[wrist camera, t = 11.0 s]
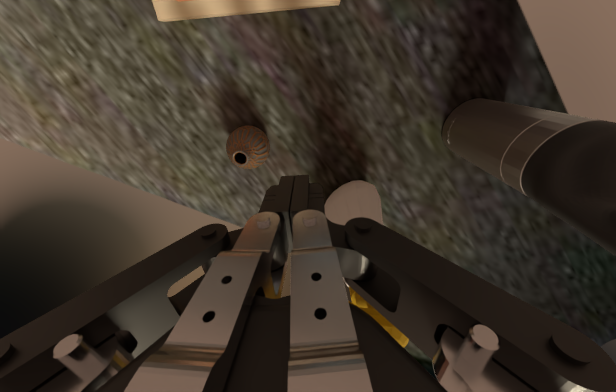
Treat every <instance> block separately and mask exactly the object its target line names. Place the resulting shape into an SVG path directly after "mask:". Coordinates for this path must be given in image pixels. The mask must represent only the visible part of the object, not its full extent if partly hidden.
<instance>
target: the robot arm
mask: <svg viewBox="0 0 616 392" xmlns="http://www.w3.org/2000/svg"><path fill="white" fill-rule="evenodd" d="M442 140H443V142H444V144H445V146H446V147H447V148H448V149H450V150H451V151H453V152H454V153H456V154H458V155H459V156H461V157H463V158H464V159H466V160H468V161H469V162H471V163H473V164H474V165H476V166H478V167H479V168H481V169H483V170H484V171H486V172H488V173H489V174H491V175H493V176H494V177H496V178H498V179H499V180H501V181H503V182H504V183H506V184H508V185H509V186H511V187H513V188H514V189H516V190H518V191H519V192H521V193H523V194H524V195H526V196H528V197H529V198H531V199H533V200H534V201H536V202H538V203H539V204H540V205H541V206H542V207H544V208H545V209H546V210H548V211H549V212H551V213H552V214H554V215H556V216H557V217H559V218H560V219H562V220H564V221H565V222H567V223H568V224H570V225H571V226H573V227H574V228H576V229H577V230H579V231H580V232H582V233H583V234H585V235H586V236H587V237H589V238H590V239H592V240H593V241H595V242H596V243H598V244H599V245H600V246H602V247H603V248H605V249H606V250H608V251H609V252H610V253H612V254H613V255H615V256H616V123H613V122H608V121H603V120H598V119H592V118H587V117H581V116H576V115H570V114H564V113H559V112H554V111H548V110H543V109H538V108H532V107H527V106H522V105H516V104H511V103H505V102H501V101H495V100H489V99H484V98H476V99H472V100H468V101H466V102H464V103H462V104H461V105H459V106H458V107H457V108H455V109H454V110H453V111H452V112H451V114H450V115H449V116H448V118H447V119H446V121H445V123H444V126H443V129H442ZM288 253H291V295H290V296H286V297H282V298H281V294H282V289H283V284H284V280H285V275H286V271H287V257H288ZM199 266H202V268H203V270H204V272H205V274H204V275H203V276H201V277H200V278H198V279H197V280H195V281H194V282H193V283H191V284H190V285H188V286H187V287H186V288H184V289H183V290H181V291H180V292H179V293H177V294H176V295H174V296H172V297H167V292H168V290H169V288H170V287H171V286H172V285H173V284H174V283H175V282H177V281H178V280H180V279H181V278H183V277H184V276H186V275H187V274H189V273H190V272H192V271H193V270H195V269H196V268H198V267H199ZM343 277H344V280H345V282H346V283H347V284H348V285H349V286H350V287H351V288H352V289H353V290H354V291H355V292H356V293H358V294H359V295H360V296H361V297H362V298H363V299H364V300H365V301H367V302H368V303H369V304H370V305H371V306H372V307H373V308H374V309H376V310H377V311H378V312H379V313H380V314H381V315H382V316H383V317H385V318H386V319H387V320H388V321H389V322H390V323H391V324H393V325H394V326H395V327H396V328H397V329H398V330H399V331H400V332H402V333H403V334H404V335H405V336H406V337H407V338H408V339H409V340H411V341H412V342H413V343H414V344H415V345H416V346H417V347H418V348H420V349H421V350H422V351H423V352H424V353H425V354H426V355H427V356H429V357H430V358H431V359H432V360H433V368H434V372H435V375H436V377H437V379H438V381H439V382H438V381H437V380H436V379H435V378H434V377H433V376H432V375H431V374H430V373H429V372H428V371H427V370H426V369H425V368H424V367H423V366H422V365H420V364H419V363H418V362H417V361H416V360H415V359H414V358H413V357H412V356H411V355H410V354H409V353H408V352H407V351H406V350H405V349H404V348H403V347H402V346H401V345H400V344H399V343H398V342H397V341H396V340H395V339H394V338H393V337H392V336H391V335H390V334H389V333H388V332H387V331H386V330H385V329H384V328H383V327H382V326H381V325H380V324H379V323H378V322H377V321H376V320H375V319H374V318H373V317H371V316H370V315H369V314H368V313H366V312H365V311H363V310H362V309H360V308H359V307H357V306H355V305H353V304H351V303H349V302H348V298H347V294H346V289H345V285H344V281H343ZM615 390H616V365H615V363H614V362H613V360H612V359H611V358H610V357H609V355H607V353H606V352H605V351H604V350H603V349H602V348H601V347H600V346H598V345H597V344H596V343H595V342H594V341H592V340H591V339H590V338H588V337H587V336H585V335H584V334H582V333H581V332H579V331H577V330H576V329H574V328H572V327H570V326H568V325H566V324H565V323H563V322H561V321H559V320H557V319H555V318H554V317H552V316H550V315H548V314H546V313H544V312H542V311H541V310H539V309H537V308H535V307H533V306H531V305H530V304H528V303H526V302H524V301H522V300H520V299H519V298H517V297H515V296H513V295H511V294H509V293H507V292H506V291H504V290H502V289H500V288H498V287H496V286H495V285H493V284H491V283H489V282H487V281H485V280H483V279H482V278H480V277H478V276H476V275H474V274H472V273H471V272H469V271H467V270H465V269H463V268H461V267H459V266H458V265H456V264H454V263H452V262H450V261H448V260H447V259H445V258H443V257H441V256H439V255H437V254H435V253H434V252H432V251H430V250H428V249H426V248H424V247H423V246H421V245H419V244H417V243H415V242H413V241H412V240H410V239H408V238H406V237H404V236H402V235H400V234H399V233H397V232H395V231H393V230H391V229H389V228H388V227H386V226H384V225H382V224H380V223H378V222H376V221H375V220H372V219H370V218H365V217H357V218H353V219H351V220H349V221H348V222H347V223H346V224H345V225H340V224H336V223H333V222H331V221H330V220H328V219H327V218H326V216H325V207H324V196H323V187H322V186H321V185H320V184H319V183H309V175H297V176H281V179H280V182H279V185H274V186H271V187H270V188H269V189H268V190H267V191H266V194H265V197H264V199H263V202H262V205H261V208H260V210H259V213H258V214H255V215H253V216H252V217H251V218H249V220H248V221H247V223H246V225H245V227H244V228H242V229H238V230H234V231H231V232H228V230H227V228H226V226H225V225H222V224H210V225H207V226H204V227H202V228H200V229H198V230H196V231H194V232H193V233H191V234H189V235H187V236H185V237H184V238H182V239H180V240H178V241H176V242H175V243H173V244H171V245H169V246H167V247H166V248H164V249H162V250H160V251H159V252H157V253H155V254H153V255H151V256H149V257H148V258H146V259H144V260H142V261H141V262H139V263H137V264H135V265H133V266H131V267H130V268H128V269H126V270H124V271H122V272H121V273H119V274H117V275H115V276H114V277H111V278H110V279H108V280H106V281H104V282H102V283H101V284H99V285H97V286H95V287H93V288H92V289H90V290H88V291H86V292H85V293H83V294H81V295H79V296H77V297H76V298H74V299H72V300H70V301H68V302H66V303H65V304H63V305H61V306H59V307H58V308H56V309H54V310H52V311H50V312H49V313H47V314H45V315H43V316H41V317H39V318H38V319H36V320H34V321H32V322H30V323H28V324H27V325H25V326H23V327H21V328H19V329H18V330H16V331H14V332H12V333H11V334H9V335H7V336H5V337H3V338H1V339H0V392H613V391H615Z"/></svg>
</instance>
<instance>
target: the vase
mask: <svg viewBox="0 0 616 392" xmlns="http://www.w3.org/2000/svg"><path fill="white" fill-rule="evenodd" d="M226 151H227V155H228V157H229V159H230V160H231V161H232V163H234V164H235V165H236V166H238V167H240V168H243V169H253V168H256V167H259V166H260V165H262V164H263V163H264V162H265V160H266V159H267V157H268V155H269V151H270V144H269V140H268V138H267V136H266V134H265V133H264V132H263V131H262V130H260V129H259V128H257V127H254V126H249V125H247V126H241V127H239V128H237V129H235V130H234V131H233V132H232V133H231V134H230V136H229V137H228V140H227V144H226Z"/></svg>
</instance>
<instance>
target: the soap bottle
mask: <svg viewBox="0 0 616 392" xmlns="http://www.w3.org/2000/svg"><path fill="white" fill-rule="evenodd" d="M324 207H325V216H326V218H327V219H328V220H330V221H331V222H333V223H336V224H340V225H345V224H346V223H347V222H348V221H349V220H351V219H353V218H357V217H365V218H370V219H372V220H375V221H376V222H378V223H380V224H382V225H383V219H382V210H381V200H380V196H379V194H378V192H377V190H376V188H375V186H374V185H372V184H370V183H368V182H365V181H362V180H357V181H351V182H348V183H346V184H344V185H342V186H340V187H339V188H338V189H336V190H335V191H334V192H333V193H332V194H331V195H330V196H329V198H328V199H327V201H326V203H325V205H324ZM343 278H344V277H343ZM344 281H345V280H344ZM345 283H346V282H345ZM346 285H347V286H348V287H349V290H350V296H351V300H352V303H351V302H349V301H348V302H349V303H351V304H353V305H355V306H357V307H359V308H360V309H362V310H363V311H365V312H366V313H368V314H369V315H370V316H371V317H373V318H374V319H375V320H376V321H377V322H378V323H379V324H380V325H381V326H382V327H383V328H384V329H385V330H386V331H387V332H388V333H389V334H390V335H391V336H392V337H393V338H394V339H395V340H396V341H397V342H398V343H399V344H400V345H401V346H402V347H403V348H404V347H405V346H406V345H407V343H408V341H409V339H408V338H407V337H406V336H405V335H404V334H403V333H402V332H400V331H399V330H398V329H397V328H396V327H395V326H394V325H393V324H391V323H390V322H389V321H388V320H387V319H386V318H385V317H383V316H382V315H381V314H380V313H379V312H378V311H377V310H376V309H374V308H373V307H372V306H371V305H370V304H369V303H368V302H367V301H365V300H364V299H363V298H362V297H361V296H360V295H359V294H358V293H356V292H355V291H354V290H353V289H352V288H351V287H350V286H349V285H348V284H347V283H346Z"/></svg>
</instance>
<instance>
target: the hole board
mask: <svg viewBox="0 0 616 392" xmlns="http://www.w3.org/2000/svg"><path fill="white" fill-rule="evenodd" d="M152 2H153V5H154V8H155V11H156V14H157V17H158V20H159V21H162V22H167V21H177V20H188V19H198V18H209V17H219V16H230V15H240V14H251V13H261V12H272V11H283V10H293V9H304V8H314V7H325V6H335V5H339V4H340V0H191V1H181V2H178V1H176V0H163V1H159V0H152Z"/></svg>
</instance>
